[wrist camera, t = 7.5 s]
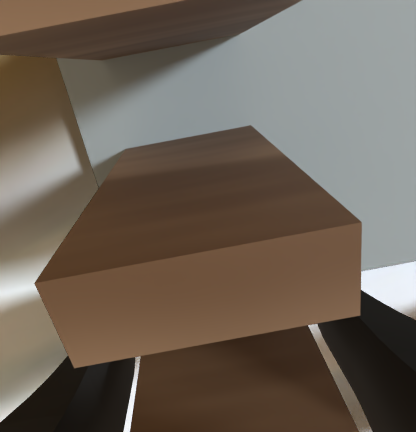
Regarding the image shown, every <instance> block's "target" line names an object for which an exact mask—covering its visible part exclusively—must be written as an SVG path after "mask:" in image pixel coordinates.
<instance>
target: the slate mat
mask: <svg viewBox="0 0 416 432" xmlns="http://www.w3.org/2000/svg"><path fill="white" fill-rule="evenodd" d="M56 59H57V62H58V65H59V68H60V71H61V74H62V77H63V80H64V83H65V86H66V90H67V93H68V96H69V99H70V102H71V105H72V108H73V111H74V114H75V117H76V120H77V123H78V126H79V129H80V132H81V135H82V139H83V142H84V145H85V148H86V151H87V154H88V157H89V160H90V163H91V166H92V169H93V172H94V175H95V178H96V181H97V185H98V188H99V187H100V186H101V184H102V183H103V181H104V180H105V179H106V177H107V176H108V174H109V173H110V171H111V170H112V168H113V167H114V165H115V164H116V162H117V161H118V159H119V158H120V156H121V155H122V153H123V152H124V151H125V149H128V148H133V147H138V146H143V145H149V144H154V143H159V142H165V141H170V140H175V139H180V138H186V137H191V136H196V135H202V134H207V133H212V132H218V131H223V130H228V129H233V128H239V127H244V126H249V125H251V126H252V127H254V128H255V129H256V130H257V131H258V132H259V133H260V134H262V135H263V136H264V137H265V138H266V139H267V140H268V141H270V142H271V143H272V144H273V145H274V146H275V147H276V148H278V149H279V150H280V151H281V152H282V153H283V154H284V155H286V156H287V157H288V158H289V159H290V160H291V161H292V162H294V163H295V164H296V165H297V166H298V167H299V168H300V169H302V170H303V171H304V172H305V173H306V174H307V175H308V176H310V177H311V178H312V179H313V180H314V181H315V182H316V183H318V184H319V185H320V186H321V187H322V188H323V189H324V190H326V191H327V192H328V193H329V194H330V195H331V196H333V197H334V198H335V199H336V200H337V201H338V202H339V203H341V204H342V205H343V206H344V207H345V208H346V209H347V210H349V211H350V212H351V213H352V214H353V215H354V216H355V217H357V218H358V219H359V220H360V221H361V222H362V247H361V271H365V270H371V269H376V268H382V267H387V266H392V265H398V264H403V263H409V262H414V261H416V0H302V1H300V2H298V3H296V4H295V5H293V6H291V7H289V8H287V9H285V10H283V11H282V12H280V13H278V14H276V15H274V16H272V17H271V18H269V19H267V20H265V21H263V22H261V23H259V24H258V25H256V26H254V27H252V28H250V29H248V30H247V31H245V32H243V33H241V34H237V35H232V36H227V37H222V38H216V39H211V40H206V41H201V42H195V43H190V44H185V45H180V46H174V47H169V48H164V49H159V50H154V51H148V52H143V53H138V54H133V55H127V56H122V57H117V58H112V59H106V60H84V59H67V58H56Z"/></svg>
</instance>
